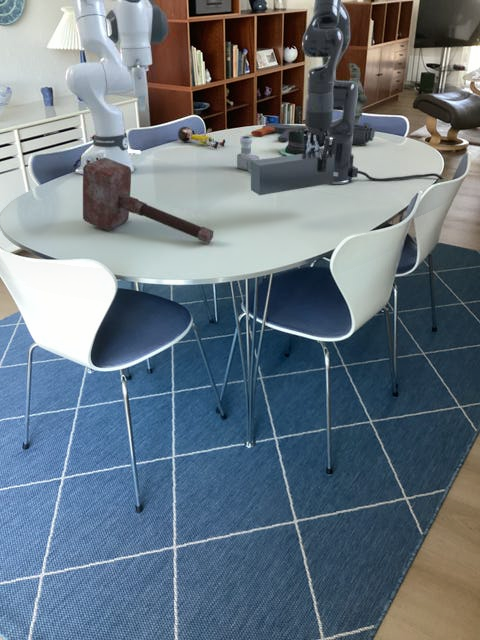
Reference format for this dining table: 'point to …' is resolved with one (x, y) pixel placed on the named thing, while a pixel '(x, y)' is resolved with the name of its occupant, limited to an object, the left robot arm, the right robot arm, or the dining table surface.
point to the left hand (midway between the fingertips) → (141, 108)
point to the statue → (361, 97)
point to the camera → (245, 154)
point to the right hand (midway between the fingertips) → (316, 169)
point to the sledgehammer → (123, 200)
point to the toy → (363, 134)
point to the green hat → (294, 143)
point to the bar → (289, 173)
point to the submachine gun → (277, 130)
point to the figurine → (197, 137)
